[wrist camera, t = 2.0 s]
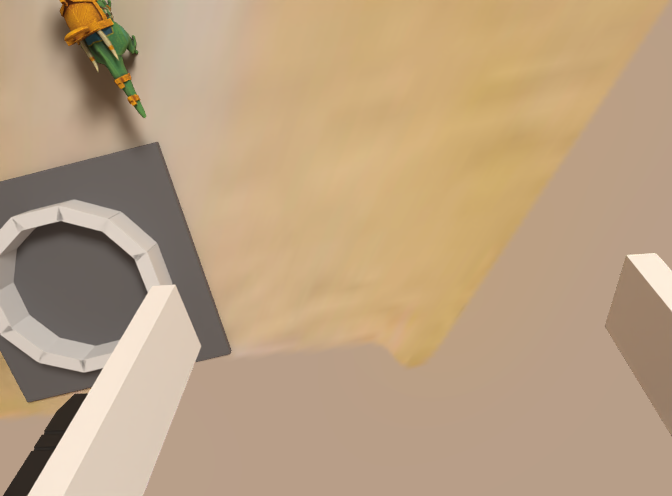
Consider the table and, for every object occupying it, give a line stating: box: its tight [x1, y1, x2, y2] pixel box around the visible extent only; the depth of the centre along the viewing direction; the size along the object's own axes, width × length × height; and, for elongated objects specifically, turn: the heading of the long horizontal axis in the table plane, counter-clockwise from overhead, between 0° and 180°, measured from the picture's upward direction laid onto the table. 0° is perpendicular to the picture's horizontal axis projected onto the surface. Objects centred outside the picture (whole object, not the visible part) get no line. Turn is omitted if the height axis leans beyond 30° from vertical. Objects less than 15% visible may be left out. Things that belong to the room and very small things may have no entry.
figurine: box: [60, 0, 146, 118], centre depth 31 cm, size 3×12×8 cm, turn 28°
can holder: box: [0, 142, 231, 402], centre depth 39 cm, size 20×20×3 cm
